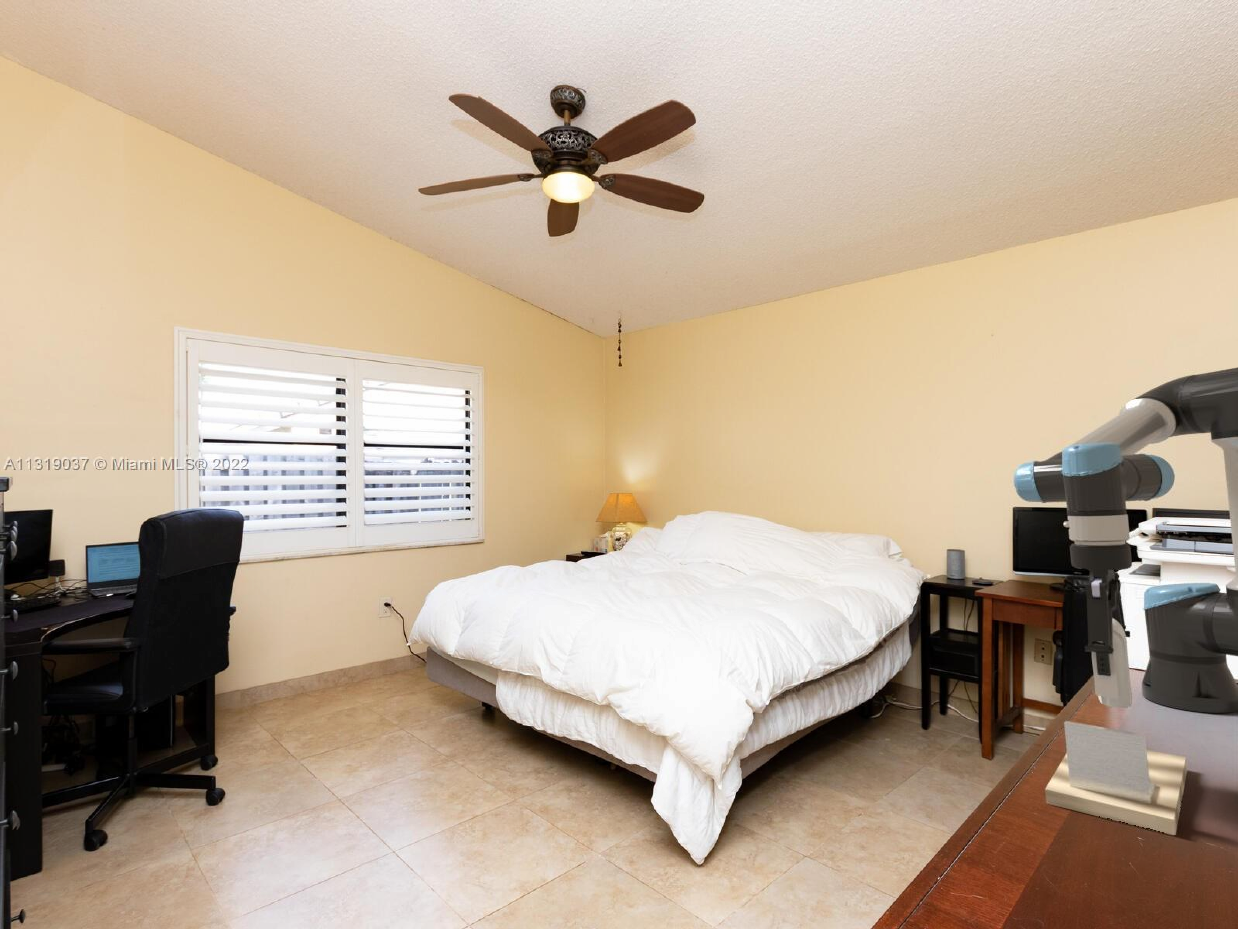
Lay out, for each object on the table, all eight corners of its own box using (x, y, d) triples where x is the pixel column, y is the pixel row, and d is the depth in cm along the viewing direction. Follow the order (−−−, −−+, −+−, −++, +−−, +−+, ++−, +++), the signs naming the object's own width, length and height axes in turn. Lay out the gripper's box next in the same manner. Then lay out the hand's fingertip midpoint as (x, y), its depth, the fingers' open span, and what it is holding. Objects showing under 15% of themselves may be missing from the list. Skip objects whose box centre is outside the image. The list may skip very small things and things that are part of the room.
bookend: (1079, 769, 96) (1073, 709, 97) (1156, 785, 90) (1149, 721, 90) (1070, 786, 91) (1064, 723, 92) (1150, 805, 85) (1144, 736, 85)
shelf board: (1077, 748, 108) (1076, 737, 108) (1187, 770, 98) (1185, 757, 98) (1046, 803, 91) (1045, 789, 91) (1175, 835, 81) (1173, 819, 81)
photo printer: (1093, 687, 103) (1086, 611, 103) (1127, 691, 100) (1119, 612, 101) (1098, 707, 94) (1090, 623, 95) (1135, 711, 92) (1127, 625, 92)
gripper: (1082, 536, 109) (1094, 666, 108) (1054, 549, 93) (1068, 702, 92) (1138, 536, 104) (1152, 673, 103) (1119, 550, 88) (1134, 712, 87)
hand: (1112, 687), depth 97 cm, fingers closed on photo printer, 10 cm apart
